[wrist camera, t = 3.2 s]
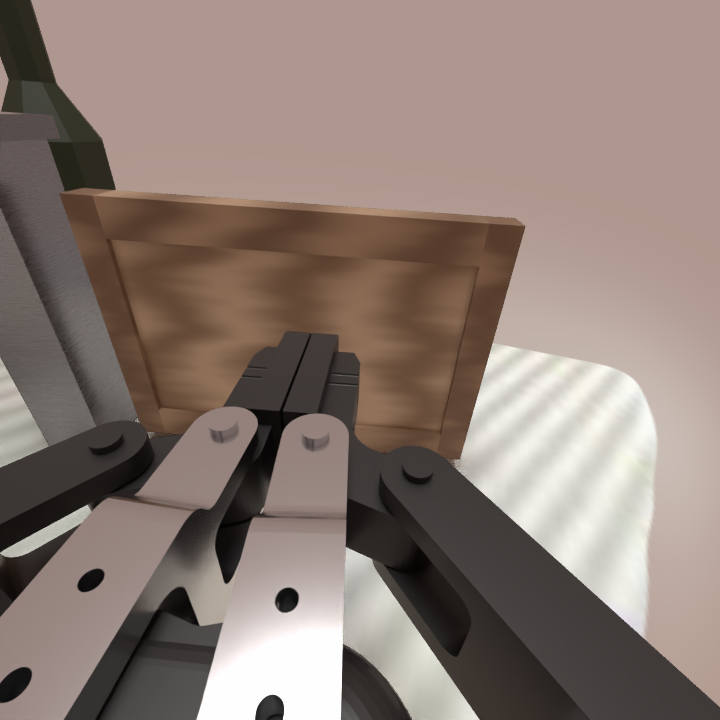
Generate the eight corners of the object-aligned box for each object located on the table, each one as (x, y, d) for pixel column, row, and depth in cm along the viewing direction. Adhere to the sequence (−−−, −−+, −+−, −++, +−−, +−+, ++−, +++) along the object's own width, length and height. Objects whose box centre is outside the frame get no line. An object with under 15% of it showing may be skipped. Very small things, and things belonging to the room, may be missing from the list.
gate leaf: (142, 431, 26) (58, 192, 17) (155, 415, 27) (82, 187, 19) (459, 459, 25) (525, 226, 17) (456, 442, 26) (515, 218, 18)
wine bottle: (158, 292, 47) (73, -48, 31) (134, 322, 40) (8, -95, 24) (86, 292, 46) (-42, -61, 30) (48, 323, 39) (-145, -114, 23)
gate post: (38, 450, 25) (-160, 105, 15) (88, 404, 29) (-41, 109, 19) (109, 456, 25) (-42, 113, 15) (148, 409, 29) (52, 115, 19)
